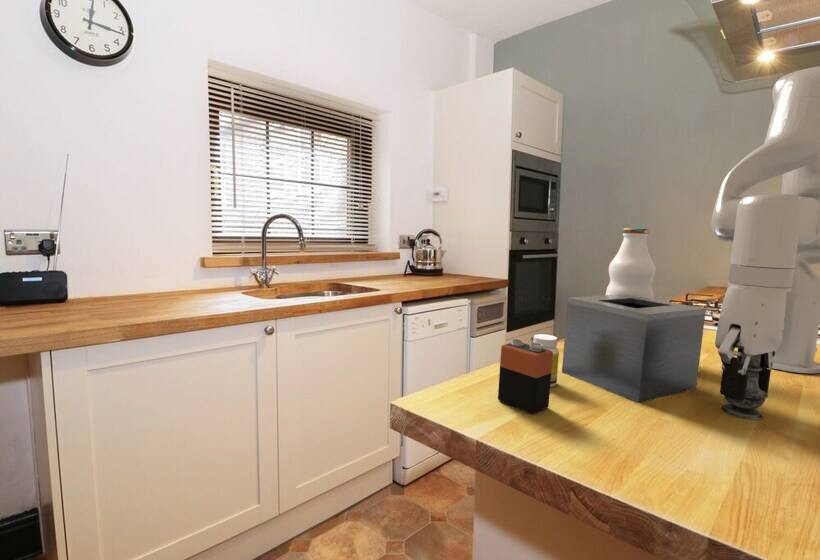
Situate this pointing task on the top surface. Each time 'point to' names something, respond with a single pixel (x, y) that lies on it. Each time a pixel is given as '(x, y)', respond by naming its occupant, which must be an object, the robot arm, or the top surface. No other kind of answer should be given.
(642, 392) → the grey hollow block
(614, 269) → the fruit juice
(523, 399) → the battery
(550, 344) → the supplement bottle
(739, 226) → the robot arm
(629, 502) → the top surface
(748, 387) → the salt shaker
